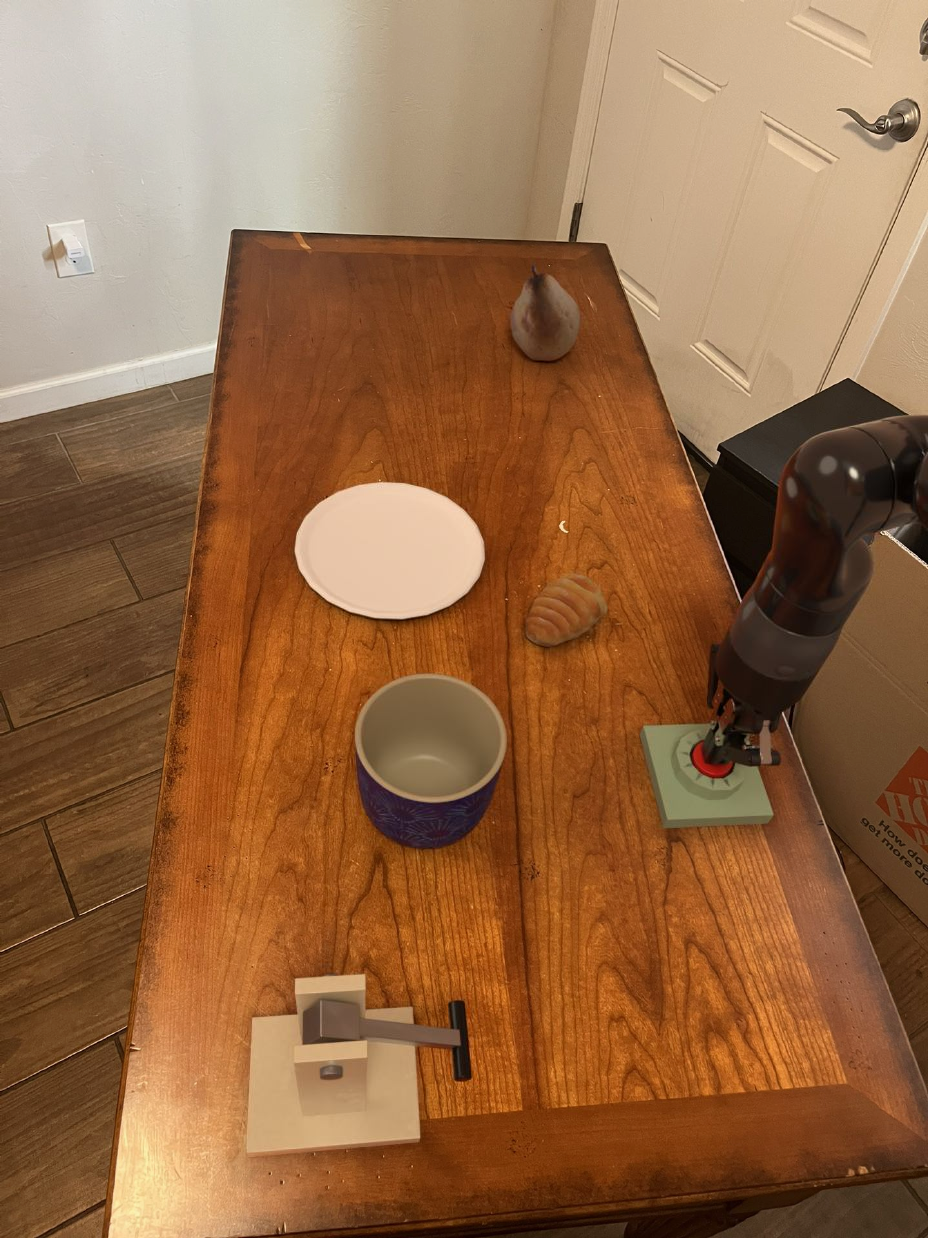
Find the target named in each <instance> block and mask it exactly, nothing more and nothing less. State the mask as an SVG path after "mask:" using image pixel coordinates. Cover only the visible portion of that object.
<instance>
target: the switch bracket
mask: <svg viewBox="0 0 928 1238" xmlns="http://www.w3.org/2000/svg"><path fill="white" fill-rule="evenodd" d="M366 980H367V979H366V974H365V973H359V974H343V975H342V974H341V975H339V974H336V973H335V974H334V973H330V974H325V975H322V976H313V977H312V976H310V977H297V978H295V979H294V997H295V1006H296V1013H297V1014H296V1013H295V1014H284V1015H283V1014H281V1015H268V1016H253V1017H252V1019H251V1034H250V1035H251V1036H250V1059H249V1063H250V1064H249V1078H248V1079H249V1080H248V1099H247V1122H246V1123H247V1124H246V1125H247V1126H246V1145H245V1154H246V1156H247V1157H248V1158H253V1157H254V1158H255V1157H256V1158H257V1157H266V1156H277V1155H278V1156H279V1155H287V1154H288V1155H291V1154H299V1153H300V1154H301V1153H313V1152H322V1151H324V1152H325V1151H334V1150H335V1151H336V1150H346V1149H357V1148H369V1147H379V1146H380V1147H381V1146H390V1145H402V1144H404V1145H405V1144H413V1143H420V1141H421V1123H420V1104H419V1089H418V1087H419V1086H418V1072H417V1071H418V1070H417V1069H418V1068H417V1054H416V1053H417V1051H416V1046H409V1045H399V1044H389V1043H380V1042H370V1041H367V1040H363V1041H361V1040H360V1041H350V1042H336V1043H322V1044H308V1045H302V1035H303V1011H305V1010H306V1009H308V1008H310V1007H311V1006H313V1005H314V1004H316V1003H317V1002H319V1001H320V1000H325V1001H333V1002H341V1003H349V1004H357V1005H359V1014H360V1018H366V1019H374V1020H383V1021H391V1022H399V1023H408V1024H415V1019H414V1007H413V1006H399V1007H384V1008H370V1009H366V1001H367V999H366V996H367V995H366V994H367V993H366V992H367V983H366V982H367V981H366Z"/></svg>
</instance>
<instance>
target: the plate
mask: <svg viewBox="0 0 928 1238" xmlns="http://www.w3.org/2000/svg"><path fill="white" fill-rule="evenodd" d="M485 553H486V552H485V541H484V538H483V536H482V534H481V531H480V529H479V527H478V525H477V523H476V522H475V521H474V520H473V518H472V517H471V516H470V515H469V514H468V512H467V511H466V510H465V509H463V507H461V506H459V505H458V504H457V503H456V502H454V501H453V500H451V499H450V498H448V497H447V496H445V495H443V494H441V493H438V492H436V491H434V490H432V489H430V488H428V487H422V486H417V485H414V484H409V483H405V482H391V481H389V482H387V481H378V482H371V483H363V484H358V485H353V486H351V487H348V488H345V489H342V490H339V491H337V492H335V493H333V494H331V495H330V496H328V497H327V498H325V499H323V500H322V501H320V502H318V503H317V504H316V505H315V506H314V507H313V508H312V509H311V510H310V511H309V512H308V513H307V514H306V515H305V516H304V518H303V519H302V522H301V524H300V525H299V528H298V529H297V531H296V536H295V544H294V555H295V559H296V563H297V567H298V571H299V572H300V574H301V575H302V577H303V578H304V580H305V581H306V583H307V585H308V586H309V587H310V588H311V589H312V590H313V591H314V592H315V593H317V594H318V595H319V596H320V597H321V598H323V600H325V601H326V602H327V603H329V604H330V605H333V606H335V607H338V608H339V609H341V610H343V611H345V612H347V613H349V614H353V615H358V616H361V617H366V618H369V619H373V620H391V621H392V620H393V621H404V620H410V619H417V618H422V617H428V616H430V615H432V614H434V613H437V612H441V611H442V610H445V609H447V608H450V607H451V606H453V605H454V604H456V603H457V602H458V601H459V600H461V599H462V598H463V597H465V596H466V595H468V594H469V592H470V591H471V589H472V588H473V587H474V586H475V584H476V583H477V582H478V581H479V579H480V576H481V573H482V570H483V567H484V563H485V561H486V556H485V555H486V554H485Z"/></svg>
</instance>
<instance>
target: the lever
mask: <svg viewBox="0 0 928 1238" xmlns="http://www.w3.org/2000/svg"><path fill="white" fill-rule="evenodd" d="M447 1010H448V1024H449V1028H448V1027H440V1026H433V1025H424V1024H417V1023H416V1024H415V1023H414V1024H408V1023H399V1022H391V1021H383V1020H374V1019H366V1018H360V1014H359V1005H357V1004H349V1003H341V1002H333V1001H325V1000H320V1001H319V1002H317V1003H316V1004H314V1005H313V1006H311V1007H310V1008H308V1009H306V1010H305V1011H303V1035H302V1045H308V1044H322V1043H336V1042H350V1041H360V1040H361V1041H363V1040H367V1041H370V1042H380V1043H389V1044H399V1045H409V1046H415V1047H418V1048H419V1047H420V1048H429V1049H438V1050H449V1051H451V1059H452V1073H453V1080H454V1082H456V1083H457V1082H458V1083H465V1082H469V1081H471V1080H472V1079H473V1074H472V1073H473V1072H472V1064H471V1053H470V1052H471V1051H470V1043H469V1031H468V1030H469V1029H468V1021H467V1011H466V1001H464V1000H462V999H461V1000H460V999H455V1000H451V1001H449V1002H448V1003H447Z"/></svg>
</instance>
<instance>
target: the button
mask: <svg viewBox="0 0 928 1238" xmlns="http://www.w3.org/2000/svg"><path fill="white" fill-rule="evenodd" d="M703 744H704V742H701V743H700V744H698V745H697V746H696V747H695V749H694V751H693V753H692V755H691V757H690V759H691V762H692V765H693V766H694V767H695V768H696V769H697V770H698V771H699V772H700V773H701V774H702V775H705V776H707V777H710V778H712V779H718V778H725V777H726V776H727V774H728V772H729V771H730V769H731V767H732V761H730V762H729V764H727V765H711V764H706V763H705V760H704V757H703V754H702V750H701V747H702V746H703Z"/></svg>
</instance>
